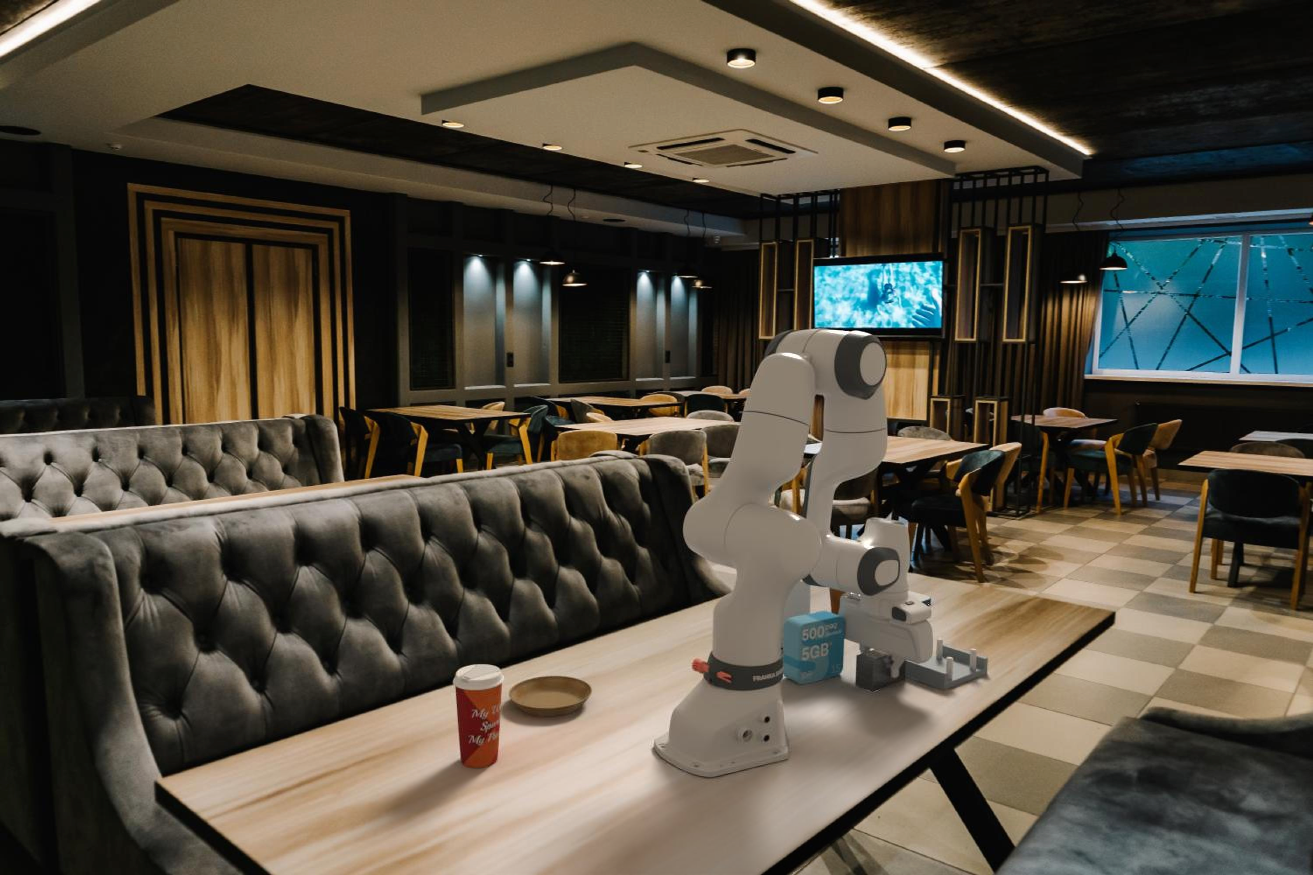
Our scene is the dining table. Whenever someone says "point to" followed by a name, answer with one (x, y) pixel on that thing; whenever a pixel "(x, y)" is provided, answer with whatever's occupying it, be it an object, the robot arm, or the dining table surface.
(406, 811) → the dining table surface
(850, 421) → the robot arm
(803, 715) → the dining table surface
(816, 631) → the data package
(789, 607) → the supplement box
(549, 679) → the plant saucer
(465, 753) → the paper cup
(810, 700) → the dining table surface
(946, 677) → the tray
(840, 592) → the disposable coffee cup
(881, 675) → the block
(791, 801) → the dining table surface
